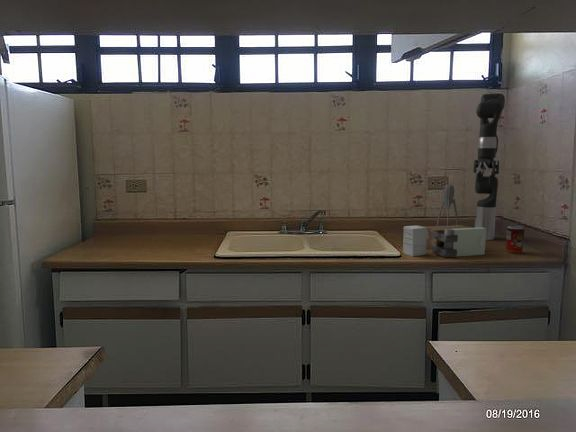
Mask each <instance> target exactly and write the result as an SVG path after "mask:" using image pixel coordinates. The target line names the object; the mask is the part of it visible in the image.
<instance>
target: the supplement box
mask: <svg viewBox="0 0 576 432" xmlns="http://www.w3.org/2000/svg"><path fill="white" fill-rule="evenodd" d="M425 227H426V226H421V225H406V226H403V237H402V238H403V243H402V245H403V246H402V253H403V254H404V255H408V256H410V257H419V256H426V255H427V254H426V253H427V251H426V250H427V249H426V228H425Z"/></svg>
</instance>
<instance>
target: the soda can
mask: <svg viewBox="0 0 576 432" xmlns="http://www.w3.org/2000/svg"><path fill="white" fill-rule="evenodd" d="M524 236H525V228H524V226H521V225H512V224H511V225H508V226H507V228H506V238H505V239H506V240H505V241H506V242H505V243H506V244H505V250H506V252H507V253H508V254H514V255H521V253H522V252H523V249H524V239H525V238H524Z"/></svg>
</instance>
